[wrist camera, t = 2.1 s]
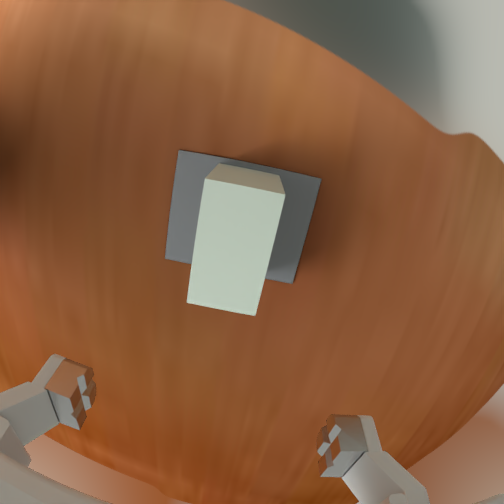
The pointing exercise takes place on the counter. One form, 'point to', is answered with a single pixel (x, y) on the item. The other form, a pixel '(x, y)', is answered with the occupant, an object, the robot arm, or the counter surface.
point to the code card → (290, 223)
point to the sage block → (234, 238)
